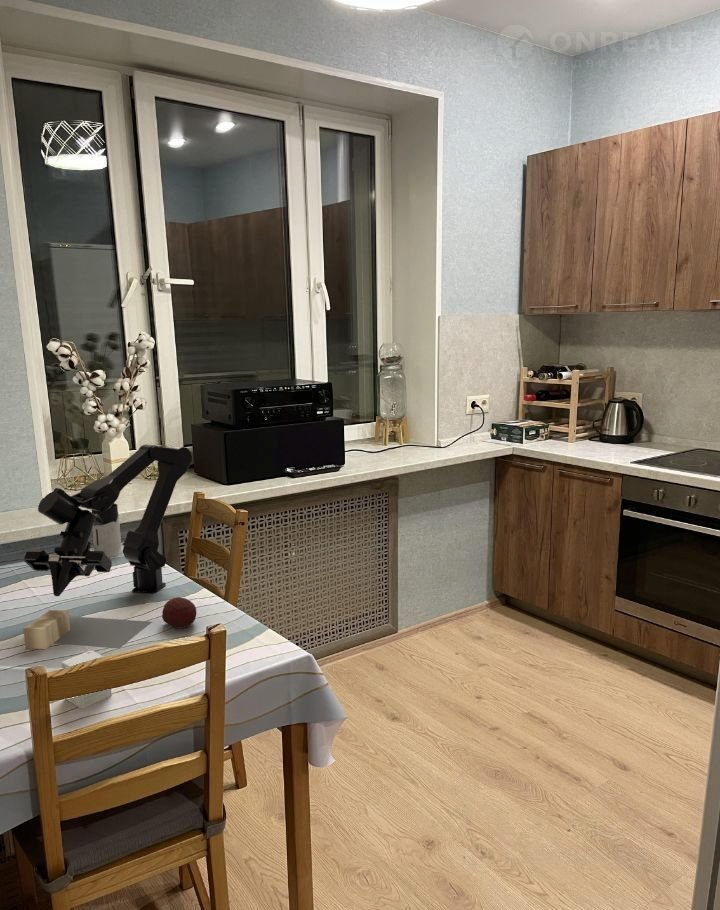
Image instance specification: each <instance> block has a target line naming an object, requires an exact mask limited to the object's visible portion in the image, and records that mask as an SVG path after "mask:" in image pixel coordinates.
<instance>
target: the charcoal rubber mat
mask: <svg viewBox="0 0 720 910" xmlns="http://www.w3.org/2000/svg"><path fill="white" fill-rule="evenodd" d="M69 619H70V629H71V630H70V631H68V632H67V633H66V634H64V635H63V636H62V637H61V638H59V639H58V640H57V641H55V642H54V643H53V644H60V645H73V646H87V647H95V648H96V647H98V648H111V649H112V648H113V649H121V648H122V647H123V646H125V645H126V644H127V643H128V642H129V641H130V640H132V639H133V638H134V637H135V636H137V635H138V634H139V633H140V632H142V631H143V630H145V628H146V627H147V626H149V625H150V624H151V623H152V621H147V620H131V619H118V618H105V617H104V618H101V617H90V616H89V617H87V616H71V615H69Z"/></svg>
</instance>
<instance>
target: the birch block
mask: <svg viewBox="0 0 720 910" xmlns="http://www.w3.org/2000/svg"><path fill="white" fill-rule="evenodd" d="M69 616H70V610H66V609H65V610H64V609H63V610H62V609H61V610H60V609H59V610H57V609H56V610H55V609H49V610H47V611H46V612H45V613H44V614H42V615H41V616H39V617H37V618H36V619H35V620H33V621H32V622H30V623H29V624H28V625H26V626H25V627H23V628H22V629H23V637H24V638H23V639H24V648H25V649H26V650H31V649H32V650H46V649H48V648H49V647H51V646H52V645H53V644H55V643H54V642H55V641H57V640H58V639H59V638H61V637H62V636H63V635H64V634H66V633H67V632H68V631H70V630H71V629H70V619H69Z"/></svg>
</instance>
